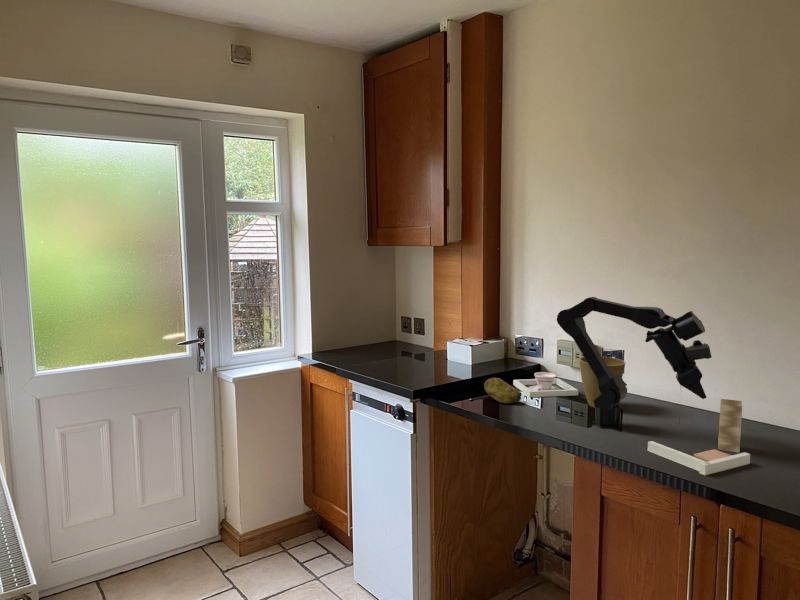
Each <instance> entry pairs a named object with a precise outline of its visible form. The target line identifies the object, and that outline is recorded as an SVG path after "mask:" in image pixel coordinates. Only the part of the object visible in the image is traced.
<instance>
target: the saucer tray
mask: <svg viewBox="0 0 800 600" xmlns="http://www.w3.org/2000/svg"><path fill="white" fill-rule="evenodd" d="M512 383H513V384H512V385H513V386H514V387H515V388H516V389H517V390H519V391H520V392H522V393H524V394H525V395H527V396H528V397H529V398H543V397H544V398H546V397H567V396H568V397H570V396H579V389H578V388H575V387H574V386H572V385H570V384H569V383H567V382H566V381H564V380H563V379H560V378H558V377H557V378H556V377H555V378H554V379H553V382H552V385H558V386H559V387H561V388H562V389H560V390H544V391H541V390H538V391H531V390H530V389H529V387H527V386H535V385H538V383H537V381H536V379H535V378H531V379H529V378H528V379H513V381H512Z"/></svg>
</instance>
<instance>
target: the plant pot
mask: <svg viewBox="0 0 800 600" xmlns="http://www.w3.org/2000/svg"><path fill="white" fill-rule="evenodd" d="M601 357H602V358H603V360H604V362H605V363H606V365H607V366H608V368H609V370H610V371H611V372H612V373H613V374H614V375H617V374H620V375H621V376H622V377H623V376H624V372H625V368H626V367H625V366H626V361H625V360H623V359H620V358H615V357H610V356H602V355H601ZM579 369H580V375H581V376H580V377H581V381H582V387H583V391H584V395H585V397H586V401H587V404H588V406H589V407H591V408H594V409H595V405H594V402H593V400H595V399H596V398H597V397H598V396H600V395H601V393H600V391H599V388H598V382H597V378H596V376H595V374H594V373H593V371H592V369H591V368H590V366H589V364H588V363H587V361H586V359H585V358H584V356H582V357H580V358H579Z"/></svg>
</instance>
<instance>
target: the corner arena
mask: <svg viewBox="0 0 800 600" xmlns="http://www.w3.org/2000/svg"><path fill="white" fill-rule="evenodd" d="M647 452H650V453H652V454H655V455H656V456H659V457H662V458H665V459H667V460H670V461H673V462H675V463H678V464H680V465H682V466H685V467H687V468H690V469H692V470H695V471H697V472H698V473H699V474H700V475H703V476H708V475H713V474H715V473H720V472H724V471H726V470H731V469H734V468H735V469H736V468H739V467H742V466H746V465H750V463H751V453H748V452H746V451H745V452H739V453H736V454H733V455H732V454H729V453H725V452H723V451H721V450H717V449H715V448H714V449H710V450H709V449H708V450H705V451H701V452H698V453H693V455H690V454H688V453H684V452H682V451H680V450H676V449H675V448H672V447H669V446H666V445H663V444H662V443H658V442H656V441H653V440H651V441H647Z"/></svg>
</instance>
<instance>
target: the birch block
mask: <svg viewBox="0 0 800 600" xmlns="http://www.w3.org/2000/svg"><path fill="white" fill-rule="evenodd" d="M719 407H720V408H719V409H720V410H719V422H718V423H719V424H718V440H717V441H718V442H717V446H718V447H717V448H718V451H725V452H726V451H727V452H731V453H737V454H740V452H741V450H740V447H741V433H742V419H743V418H742V417H743V416H742V415H743V401H742V400H736V399H735V400H734V399H727V398H720V404H719Z"/></svg>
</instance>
